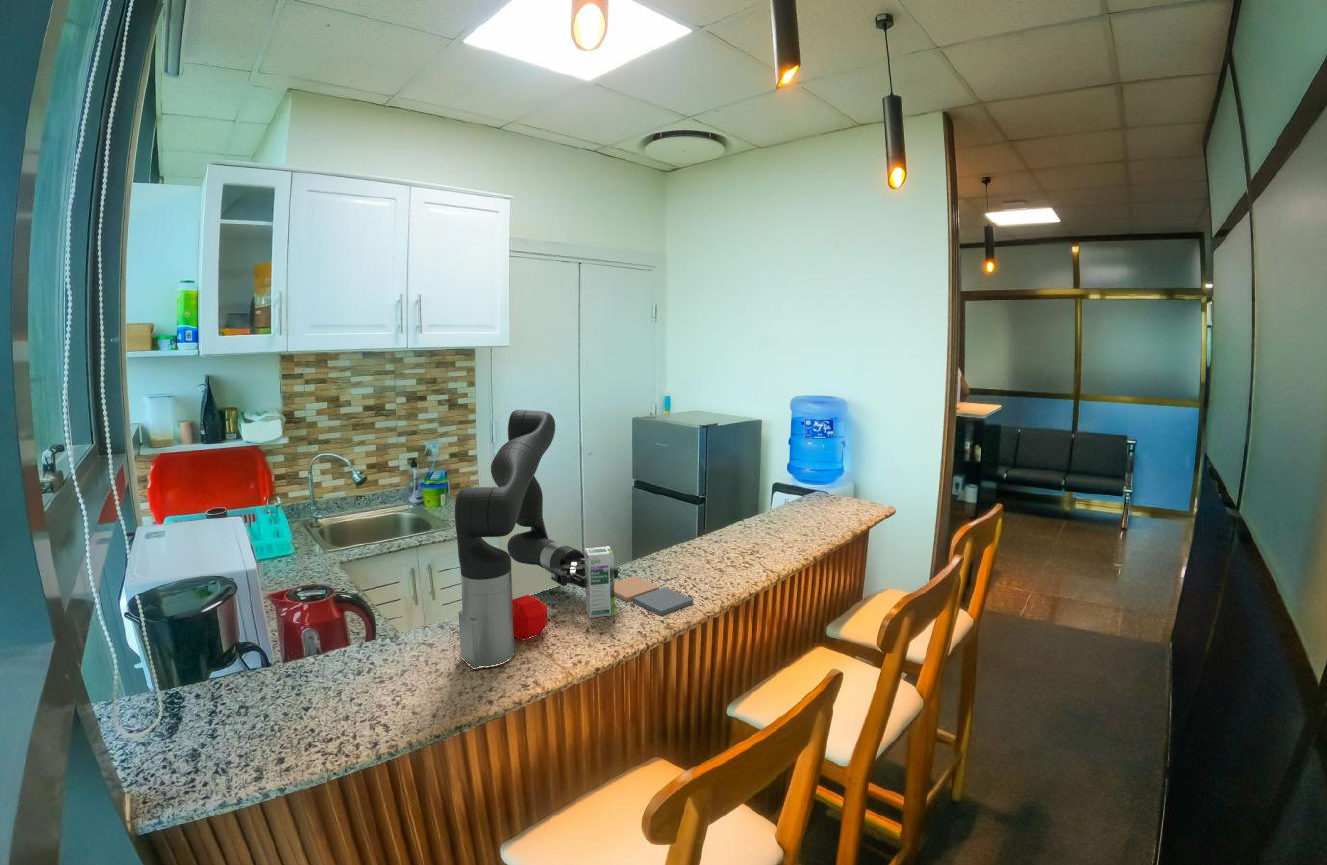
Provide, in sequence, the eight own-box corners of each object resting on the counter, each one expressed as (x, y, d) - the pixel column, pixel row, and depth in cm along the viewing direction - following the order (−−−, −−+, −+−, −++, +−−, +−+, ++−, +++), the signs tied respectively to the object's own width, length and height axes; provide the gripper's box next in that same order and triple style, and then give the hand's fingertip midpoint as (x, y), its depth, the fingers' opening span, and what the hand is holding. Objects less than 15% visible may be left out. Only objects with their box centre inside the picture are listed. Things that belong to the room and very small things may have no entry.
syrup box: (589, 618, 137) (588, 555, 135) (585, 608, 143) (584, 546, 141) (615, 615, 138) (614, 552, 136) (610, 605, 144) (609, 544, 142)
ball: (553, 634, 129) (552, 599, 128) (519, 647, 124) (518, 610, 123) (532, 622, 135) (531, 589, 134) (499, 634, 130) (497, 599, 129)
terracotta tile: (626, 601, 146) (626, 597, 146) (601, 589, 154) (601, 585, 153) (659, 590, 153) (659, 586, 152) (633, 579, 160) (633, 575, 160)
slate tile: (660, 615, 139) (660, 611, 138) (632, 601, 146) (632, 597, 146) (693, 603, 145) (693, 599, 145) (664, 590, 152) (664, 587, 152)
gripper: (535, 552, 146) (574, 570, 134) (586, 539, 155) (626, 555, 143) (536, 582, 147) (574, 603, 135) (587, 568, 156) (627, 586, 144)
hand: (601, 578), depth 139 cm, fingers open, 8 cm apart
